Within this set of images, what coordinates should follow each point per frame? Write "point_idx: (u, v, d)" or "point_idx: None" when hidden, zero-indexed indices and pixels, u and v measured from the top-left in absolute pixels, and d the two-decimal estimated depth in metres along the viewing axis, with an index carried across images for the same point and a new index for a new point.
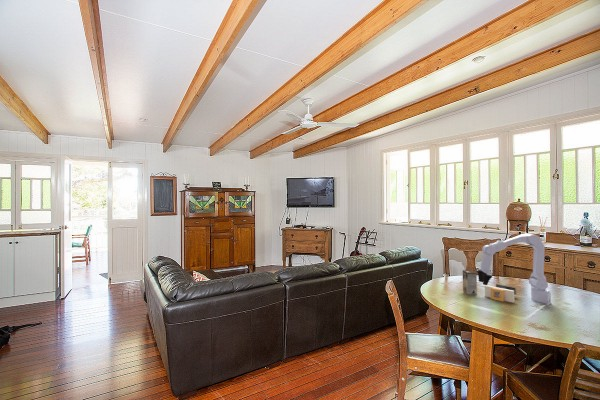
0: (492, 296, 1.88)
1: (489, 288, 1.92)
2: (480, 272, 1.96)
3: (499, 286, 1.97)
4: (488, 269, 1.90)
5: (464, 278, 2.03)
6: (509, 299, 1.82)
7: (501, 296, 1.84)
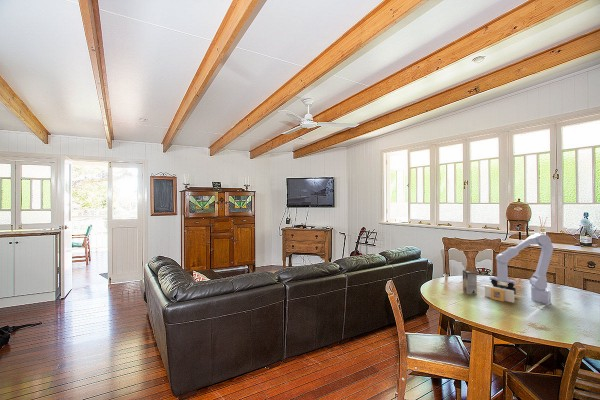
0: (492, 296, 1.88)
1: (489, 288, 1.92)
2: (495, 282, 1.94)
3: (499, 286, 1.97)
4: (507, 277, 1.90)
5: (464, 278, 2.03)
6: (509, 299, 1.82)
7: (501, 296, 1.84)
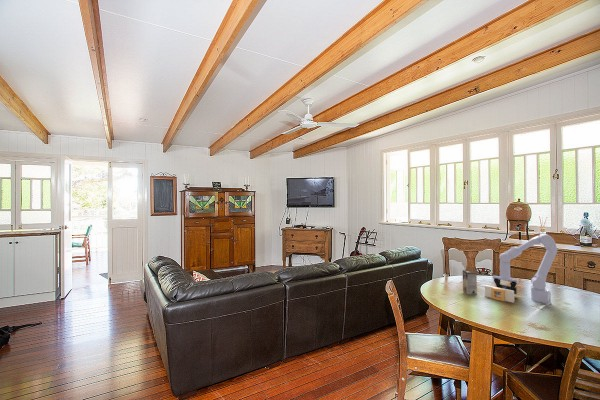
0: (493, 296, 1.88)
1: (489, 288, 1.92)
2: (498, 281, 1.97)
3: (500, 286, 1.98)
4: None
5: (464, 278, 2.03)
6: (509, 299, 1.82)
7: (502, 296, 1.84)
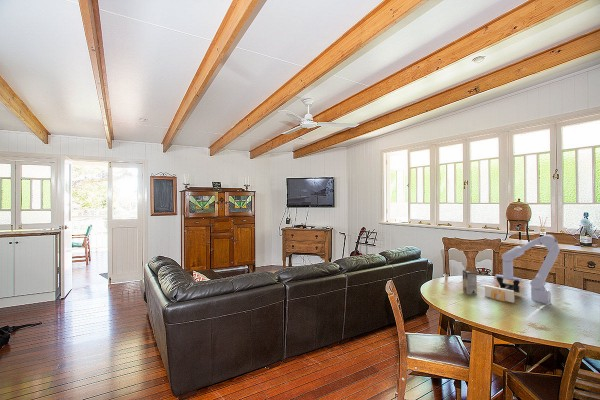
0: (493, 298, 1.88)
1: (489, 288, 1.92)
2: (501, 280, 2.00)
3: (503, 284, 2.01)
4: None
5: (464, 278, 2.03)
6: (509, 299, 1.82)
7: (502, 298, 1.84)
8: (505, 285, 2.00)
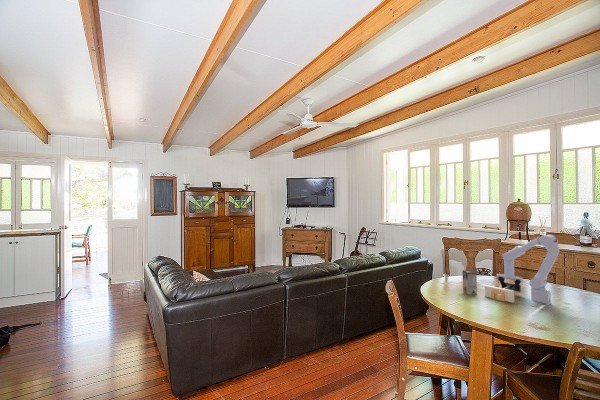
0: (493, 298, 1.88)
1: (489, 288, 1.92)
2: (502, 279, 2.01)
3: (504, 284, 2.03)
4: None
5: (464, 278, 2.03)
6: (509, 299, 1.82)
7: (502, 298, 1.84)
8: (506, 284, 2.02)
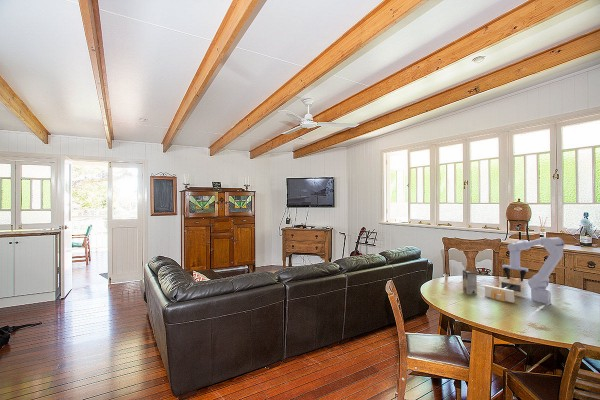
0: (493, 298, 1.88)
1: (489, 288, 1.92)
2: (508, 270, 2.02)
3: (504, 284, 2.03)
4: (519, 265, 1.99)
5: (464, 278, 2.03)
6: (509, 299, 1.82)
7: (502, 298, 1.84)
8: (506, 284, 2.02)
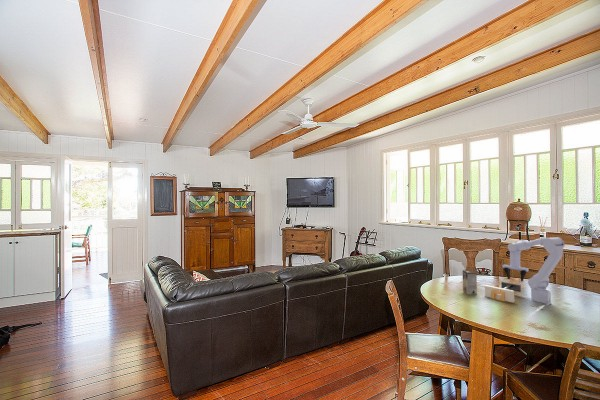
0: (493, 298, 1.88)
1: (489, 288, 1.92)
2: (508, 270, 2.02)
3: (504, 284, 2.03)
4: None
5: (464, 278, 2.03)
6: (509, 299, 1.82)
7: (502, 298, 1.84)
8: (506, 284, 2.02)
